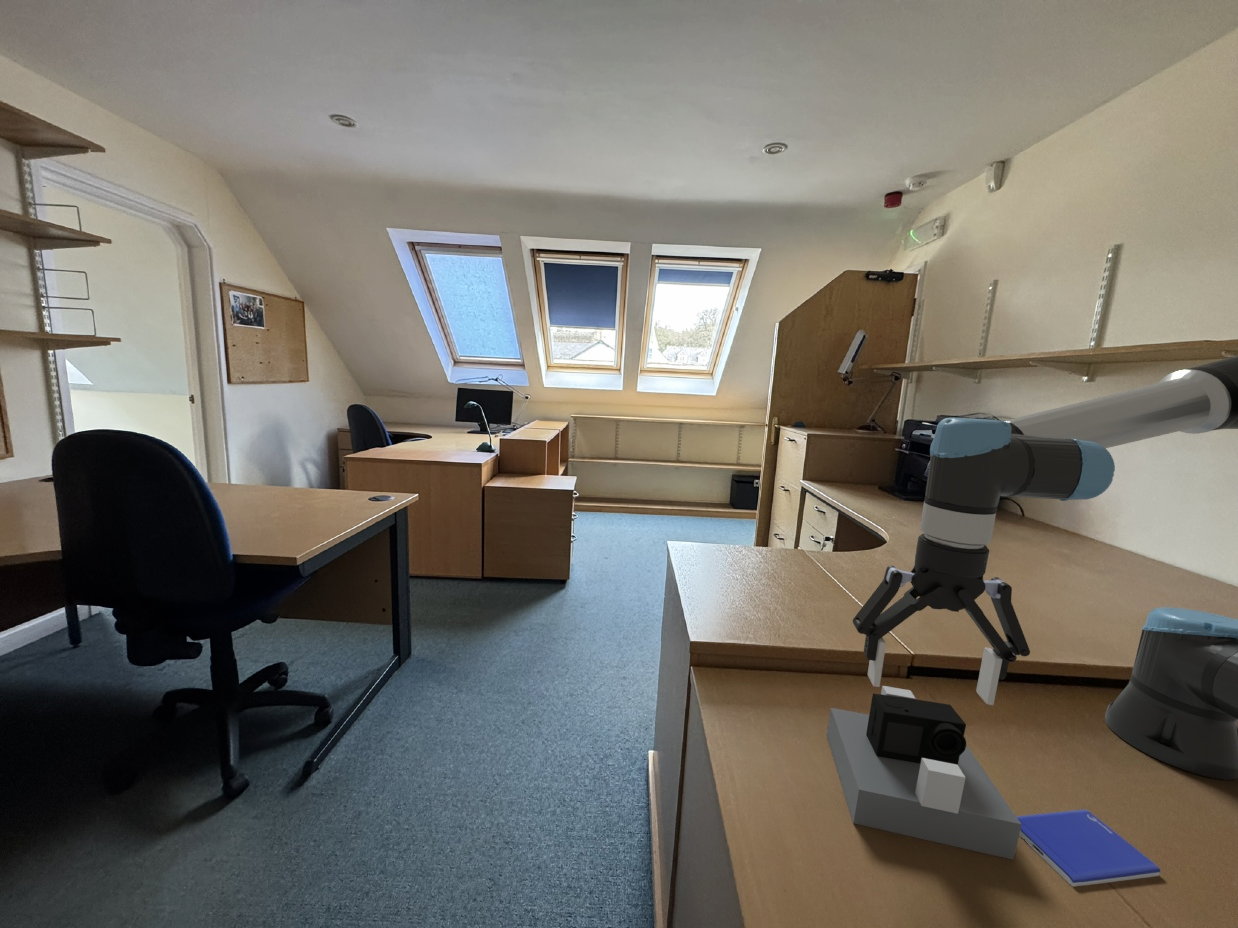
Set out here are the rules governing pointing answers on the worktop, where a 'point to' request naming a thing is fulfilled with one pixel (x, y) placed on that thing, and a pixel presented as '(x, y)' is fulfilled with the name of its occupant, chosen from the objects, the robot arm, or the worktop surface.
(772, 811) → the worktop surface
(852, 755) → the stand
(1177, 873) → the worktop surface
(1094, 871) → the hard drive
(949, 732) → the digital camera
